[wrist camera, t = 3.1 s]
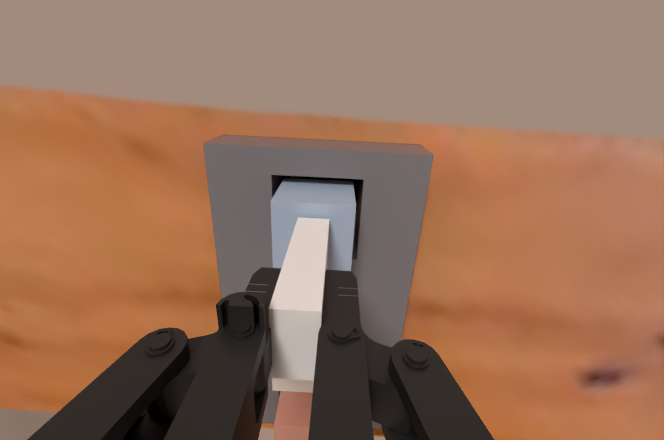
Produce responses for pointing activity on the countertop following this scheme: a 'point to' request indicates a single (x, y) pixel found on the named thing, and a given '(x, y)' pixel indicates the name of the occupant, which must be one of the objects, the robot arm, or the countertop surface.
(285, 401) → the terracotta key
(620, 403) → the countertop surface
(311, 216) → the slate key
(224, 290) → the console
